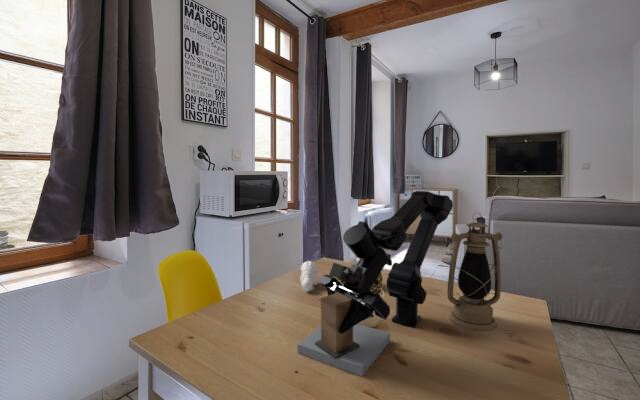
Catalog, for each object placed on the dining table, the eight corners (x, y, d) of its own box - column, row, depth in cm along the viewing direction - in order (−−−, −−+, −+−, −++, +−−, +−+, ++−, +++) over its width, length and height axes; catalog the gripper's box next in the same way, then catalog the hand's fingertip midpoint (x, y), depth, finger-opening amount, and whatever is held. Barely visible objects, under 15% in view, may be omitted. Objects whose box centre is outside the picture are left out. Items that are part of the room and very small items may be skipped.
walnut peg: (338, 342, 77) (338, 290, 76) (359, 356, 71) (359, 299, 70) (315, 353, 73) (314, 297, 71) (335, 368, 67) (335, 308, 66)
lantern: (487, 310, 94) (491, 209, 92) (511, 330, 83) (518, 215, 80) (438, 311, 94) (441, 209, 91) (456, 331, 82) (460, 215, 80)
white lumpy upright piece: (317, 259, 118) (316, 272, 106) (317, 280, 120) (316, 296, 108) (300, 259, 118) (297, 272, 107) (301, 280, 120) (297, 296, 108)
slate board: (332, 324, 86) (332, 317, 86) (389, 341, 78) (390, 333, 78) (297, 352, 73) (297, 344, 73) (362, 376, 64) (362, 367, 64)
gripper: (324, 242, 80) (286, 295, 74) (382, 258, 65) (340, 326, 59) (347, 267, 85) (314, 319, 79) (405, 287, 70) (369, 352, 65)
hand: (331, 327), depth 70 cm, fingers closed on walnut peg, 5 cm apart
